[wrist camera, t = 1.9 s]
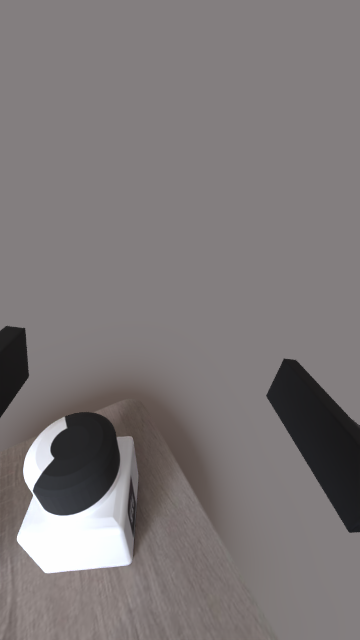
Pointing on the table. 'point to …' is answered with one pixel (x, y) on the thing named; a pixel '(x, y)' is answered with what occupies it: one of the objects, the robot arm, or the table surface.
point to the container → (80, 496)
